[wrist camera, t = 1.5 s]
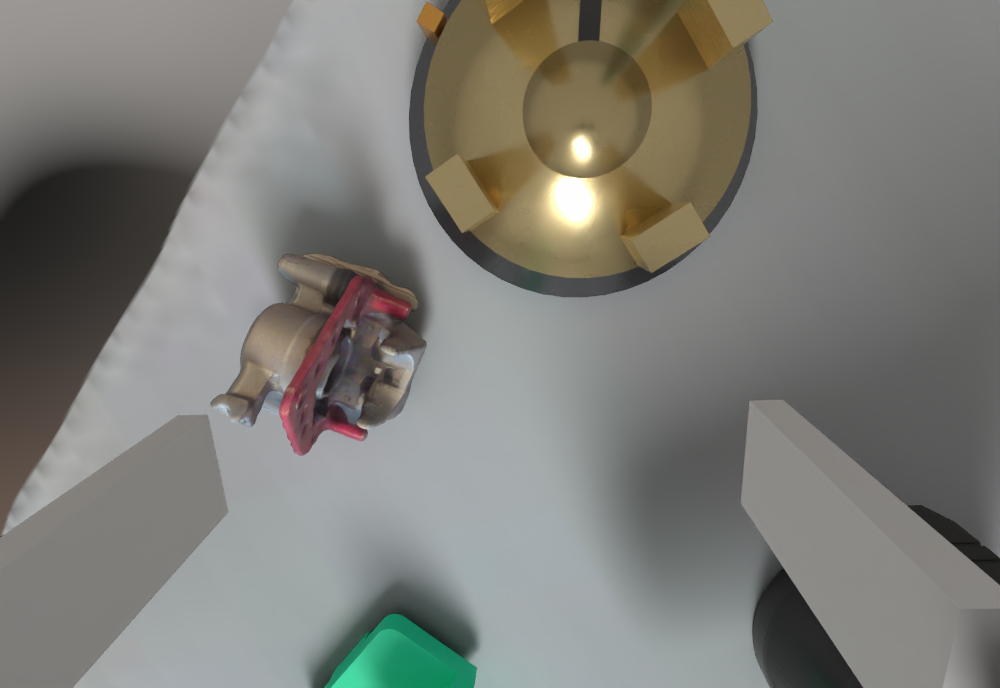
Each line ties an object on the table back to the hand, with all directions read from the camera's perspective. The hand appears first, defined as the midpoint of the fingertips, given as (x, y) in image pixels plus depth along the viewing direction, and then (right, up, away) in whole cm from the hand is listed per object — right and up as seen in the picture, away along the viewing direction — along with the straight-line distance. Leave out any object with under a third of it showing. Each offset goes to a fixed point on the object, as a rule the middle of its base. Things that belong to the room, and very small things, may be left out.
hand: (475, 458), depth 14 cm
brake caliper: (-9, +3, +23) cm, 25 cm away
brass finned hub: (+5, +15, +17) cm, 23 cm away
